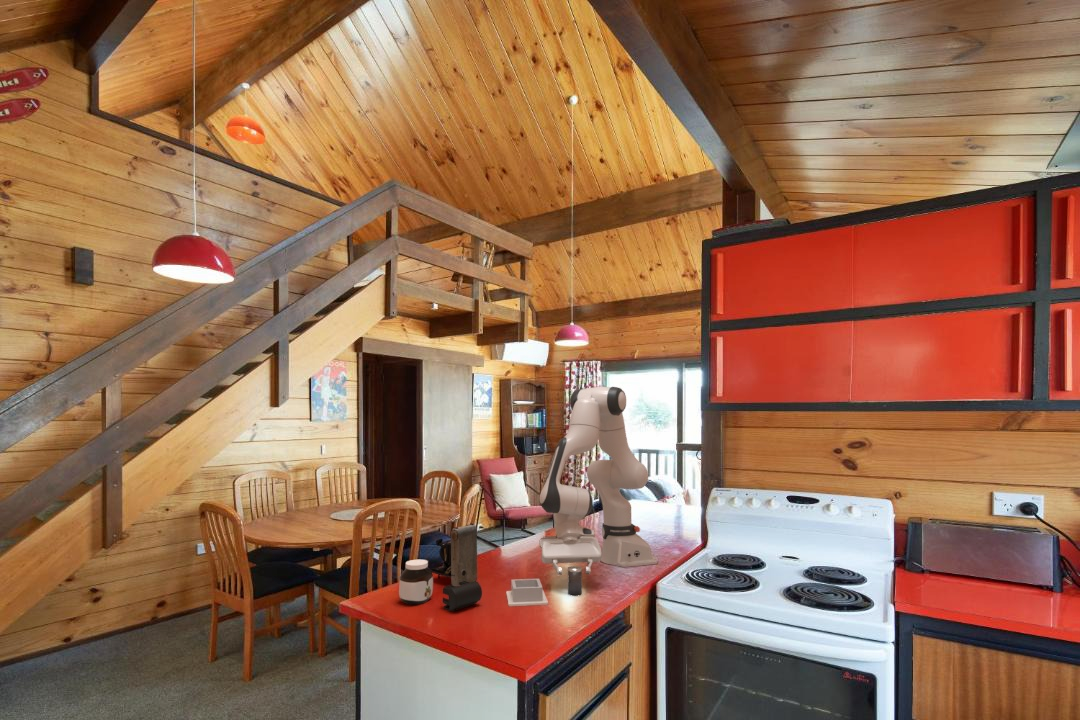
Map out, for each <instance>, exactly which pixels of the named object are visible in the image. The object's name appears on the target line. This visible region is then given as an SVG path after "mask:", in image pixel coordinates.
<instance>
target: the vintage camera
mask: <svg viewBox="0 0 1080 720" xmlns="http://www.w3.org/2000/svg"><path fill="white" fill-rule="evenodd" d="M477 531H478V529H477V526H476V525H475V524H474V523H472V522H471V523H469V524H467V525H464V526H457V527H453V528H452V530H451V532H450V542H445V543H444V544H443V541H444V540H443V538H438V539H436V540H435V544H436V547H439V551H438V552H439V557H440V558H441V560H442V561H443V563H442V566H439V567H438V566H437V567H436V568H433V567H431V569H430V570H431V572H432V574H435V575H437V580H439V579H440V578H441V577H440V576H442V577H447V578H450V579H451V582H450V583H451V585H453V586H460V585H459V582H463V581H467V582H473V581H477V580H478V538H477V536H478V532H477ZM477 582H478V581H477Z"/></svg>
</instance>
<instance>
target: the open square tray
mask: <svg viewBox="0 0 1080 720" xmlns="http://www.w3.org/2000/svg"><path fill="white" fill-rule="evenodd" d="M510 583H511V584H510V587H511V588H510V590H506V592H505V593H506V599H507V605H508V607H519V606H520V607H524V606H525V607H526V606H527V607H528V606H547V605H549V601H548V598H547V596H546V593H545V591H544V589H543V585H542V583H541V580H540V578H521V579H516V578H515V579H511V581H510Z"/></svg>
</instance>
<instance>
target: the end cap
mask: <svg viewBox="0 0 1080 720" xmlns="http://www.w3.org/2000/svg"><path fill="white" fill-rule="evenodd" d="M459 585H460V586H453V585H452V584H449V585H445V586H444V587H443V588H442V594H443V595H445V596H448V598H445V597H442V604H444V605H443V606H442V607H443V608H442V609H443V610H446V611H448V612H455V611H459V610H462V609H465V608H468V607H470V606H474V605H476V604H477V603H478V602H479V601H481V600H482V596H483V590H482V586H481V584H480V583H479V582H478V581H473V582H467V581H463V582H459Z"/></svg>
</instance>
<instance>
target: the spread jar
mask: <svg viewBox="0 0 1080 720" xmlns="http://www.w3.org/2000/svg"><path fill="white" fill-rule="evenodd" d="M428 566H429V560H427V559H411V560H407V561H406V562H405V569H403V571H402V573H401V575H400V577H399V586H398V596H399V599H400V600H401V601H402V602H403V603H405V604H406V605H410V606H416V605H422V604H423V605H424V604H425V603H427V602H428V600H430V598H431V596H432V595H433V590H434V573H432V572H431V570H432V569H430V568H429V567H428Z"/></svg>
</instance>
